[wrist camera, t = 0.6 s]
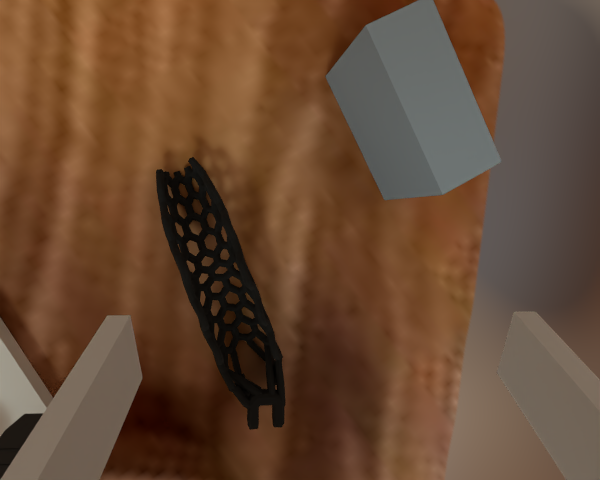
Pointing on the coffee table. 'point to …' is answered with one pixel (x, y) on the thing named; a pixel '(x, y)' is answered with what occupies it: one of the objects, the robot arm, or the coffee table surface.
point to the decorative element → (244, 388)
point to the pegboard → (18, 383)
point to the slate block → (412, 105)
